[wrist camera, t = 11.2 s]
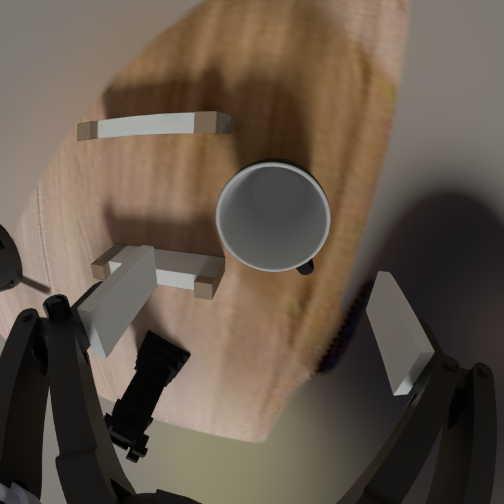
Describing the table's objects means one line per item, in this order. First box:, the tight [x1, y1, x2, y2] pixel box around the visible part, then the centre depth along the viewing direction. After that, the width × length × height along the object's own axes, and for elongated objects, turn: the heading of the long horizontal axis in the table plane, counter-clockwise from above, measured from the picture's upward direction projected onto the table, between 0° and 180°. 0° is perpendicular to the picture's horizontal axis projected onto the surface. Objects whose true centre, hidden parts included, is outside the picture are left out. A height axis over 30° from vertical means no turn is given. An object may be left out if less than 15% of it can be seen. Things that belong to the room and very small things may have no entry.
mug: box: [216, 158, 331, 275], centre depth 26 cm, size 12×9×10 cm
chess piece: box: [104, 330, 191, 463], centre depth 35 cm, size 8×8×20 cm
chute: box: [77, 111, 232, 300], centre depth 29 cm, size 16×19×6 cm
